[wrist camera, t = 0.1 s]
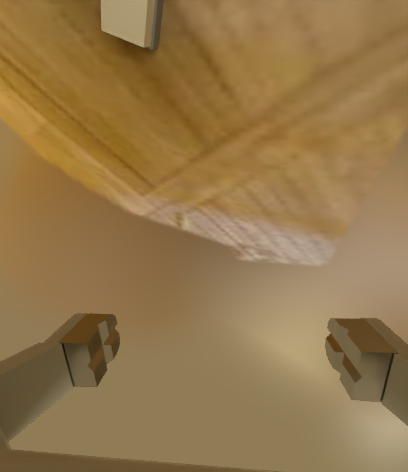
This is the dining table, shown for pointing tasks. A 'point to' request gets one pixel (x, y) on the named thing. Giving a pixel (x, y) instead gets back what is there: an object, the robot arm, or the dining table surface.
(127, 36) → the tower top
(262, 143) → the dining table surface
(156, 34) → the tower base
